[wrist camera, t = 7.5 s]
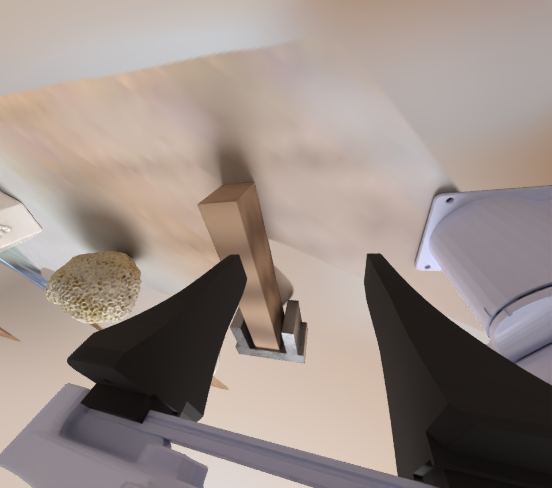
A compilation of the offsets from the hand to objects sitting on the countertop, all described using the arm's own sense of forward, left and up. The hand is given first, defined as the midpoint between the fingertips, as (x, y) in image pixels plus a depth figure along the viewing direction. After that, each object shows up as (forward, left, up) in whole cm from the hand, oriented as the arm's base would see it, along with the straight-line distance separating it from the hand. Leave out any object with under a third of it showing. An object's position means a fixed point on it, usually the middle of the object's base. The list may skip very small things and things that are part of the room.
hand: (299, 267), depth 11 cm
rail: (+7, +9, -10) cm, 15 cm away
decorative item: (+28, +7, -10) cm, 30 cm away
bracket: (+7, +17, -9) cm, 21 cm away
